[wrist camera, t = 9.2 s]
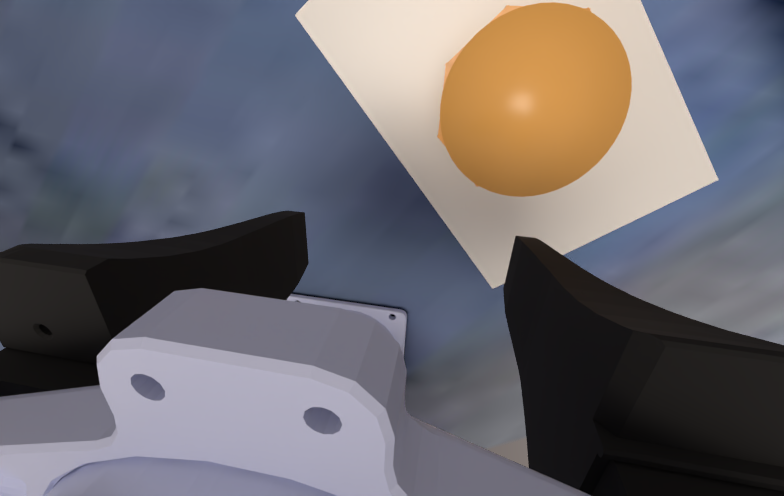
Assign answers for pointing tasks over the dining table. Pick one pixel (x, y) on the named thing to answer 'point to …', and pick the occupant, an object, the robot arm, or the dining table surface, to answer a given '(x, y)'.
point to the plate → (432, 161)
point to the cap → (535, 99)
